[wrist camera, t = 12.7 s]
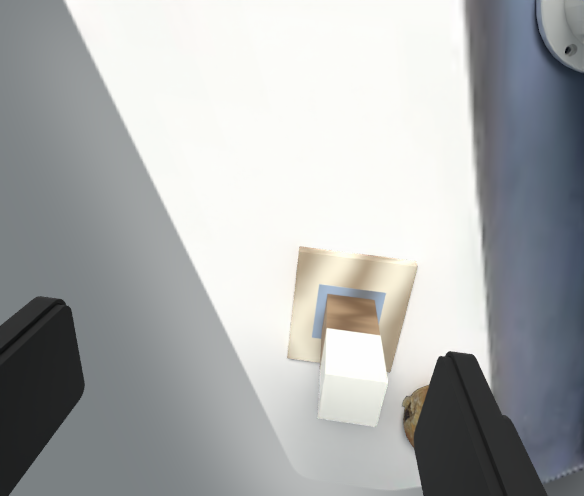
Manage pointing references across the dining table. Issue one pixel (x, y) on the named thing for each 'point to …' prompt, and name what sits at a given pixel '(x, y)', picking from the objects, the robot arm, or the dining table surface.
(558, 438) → the dining table surface
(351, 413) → the cream block
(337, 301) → the walnut block
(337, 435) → the dining table surface
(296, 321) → the birch board
